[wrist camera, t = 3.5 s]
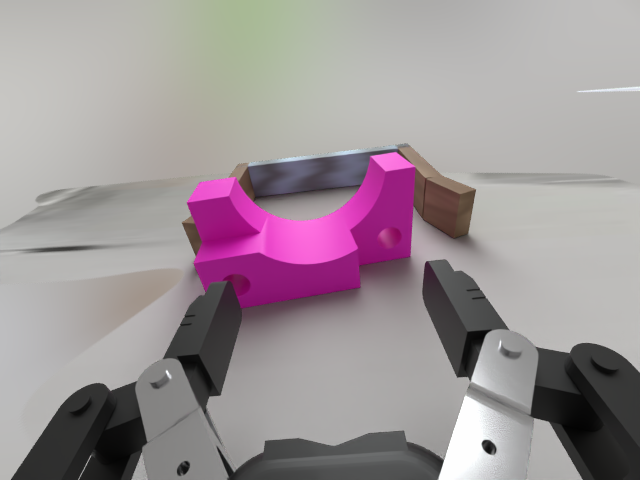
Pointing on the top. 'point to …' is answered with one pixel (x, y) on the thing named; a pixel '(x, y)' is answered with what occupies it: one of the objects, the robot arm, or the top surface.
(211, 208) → the magenta saddle bracket
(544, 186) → the top surface
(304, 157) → the cradle
